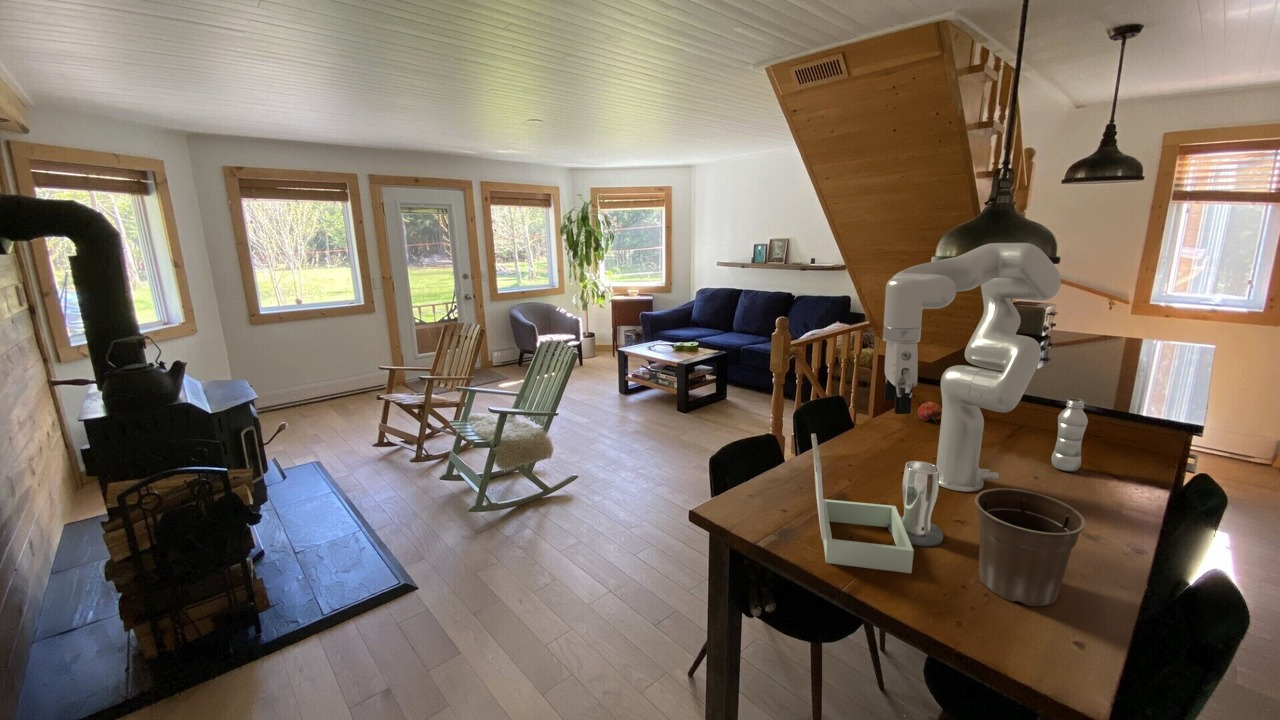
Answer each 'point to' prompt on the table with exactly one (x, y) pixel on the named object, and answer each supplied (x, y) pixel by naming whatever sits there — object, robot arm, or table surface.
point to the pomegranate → (929, 411)
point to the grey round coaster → (929, 540)
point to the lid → (818, 485)
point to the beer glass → (919, 496)
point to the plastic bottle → (1070, 436)
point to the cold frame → (867, 553)
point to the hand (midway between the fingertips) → (896, 406)
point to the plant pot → (1025, 544)
